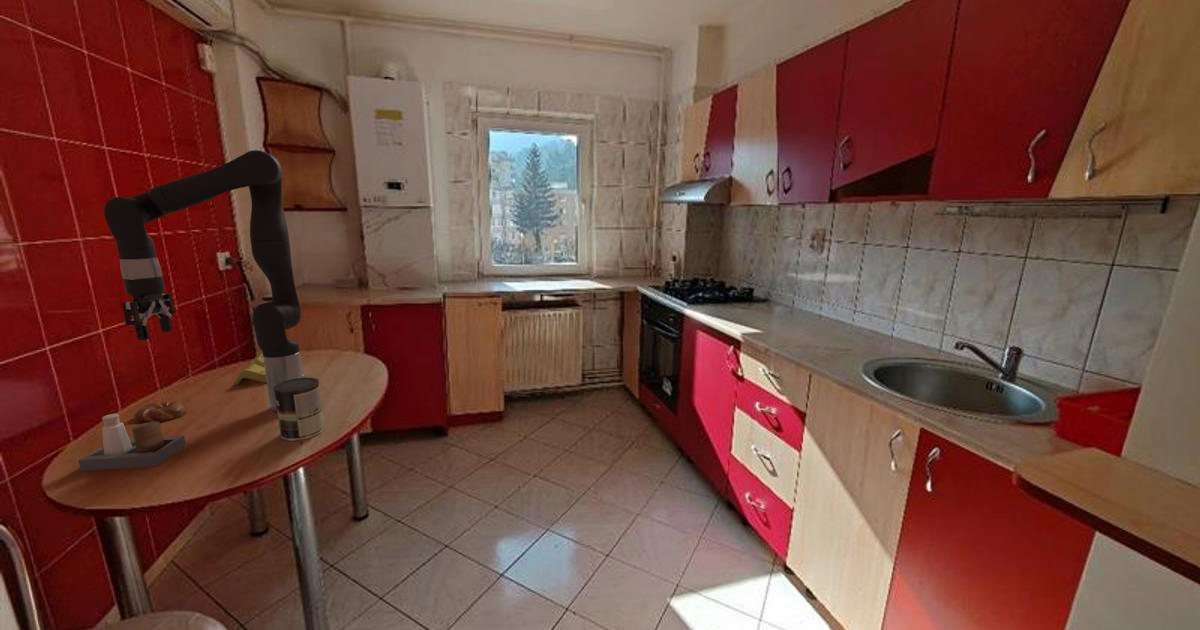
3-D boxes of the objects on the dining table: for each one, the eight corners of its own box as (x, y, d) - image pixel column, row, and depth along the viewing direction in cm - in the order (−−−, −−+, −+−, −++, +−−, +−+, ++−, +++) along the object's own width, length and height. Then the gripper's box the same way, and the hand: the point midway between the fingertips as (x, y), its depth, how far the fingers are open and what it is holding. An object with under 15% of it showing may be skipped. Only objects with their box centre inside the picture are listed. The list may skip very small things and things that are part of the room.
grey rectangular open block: (186, 448, 118) (184, 435, 117) (156, 469, 108) (153, 455, 108) (118, 452, 116) (115, 439, 115) (81, 474, 106) (78, 460, 105)
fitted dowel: (171, 450, 115) (165, 421, 113) (156, 460, 110) (149, 430, 109) (149, 452, 114) (142, 422, 112) (133, 462, 110) (126, 431, 108)
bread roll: (199, 410, 141) (197, 398, 140) (164, 426, 130) (162, 414, 130) (161, 408, 142) (159, 397, 141) (124, 424, 131) (121, 412, 130)
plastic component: (272, 376, 162) (239, 367, 158) (264, 395, 163) (231, 386, 159) (287, 356, 180) (258, 347, 176) (280, 373, 181) (251, 364, 177)
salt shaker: (129, 461, 110) (119, 418, 108) (98, 466, 108) (88, 422, 105) (140, 450, 115) (131, 409, 112) (110, 455, 113) (100, 413, 110)
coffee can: (276, 444, 121) (268, 393, 117) (285, 427, 130) (278, 380, 127) (322, 437, 125) (315, 387, 121) (327, 421, 134) (321, 375, 131)
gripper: (146, 272, 127) (158, 330, 131) (103, 280, 114) (118, 343, 117) (177, 272, 129) (189, 328, 132) (138, 278, 115) (152, 341, 119)
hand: (156, 335), depth 125 cm, fingers open, 8 cm apart
